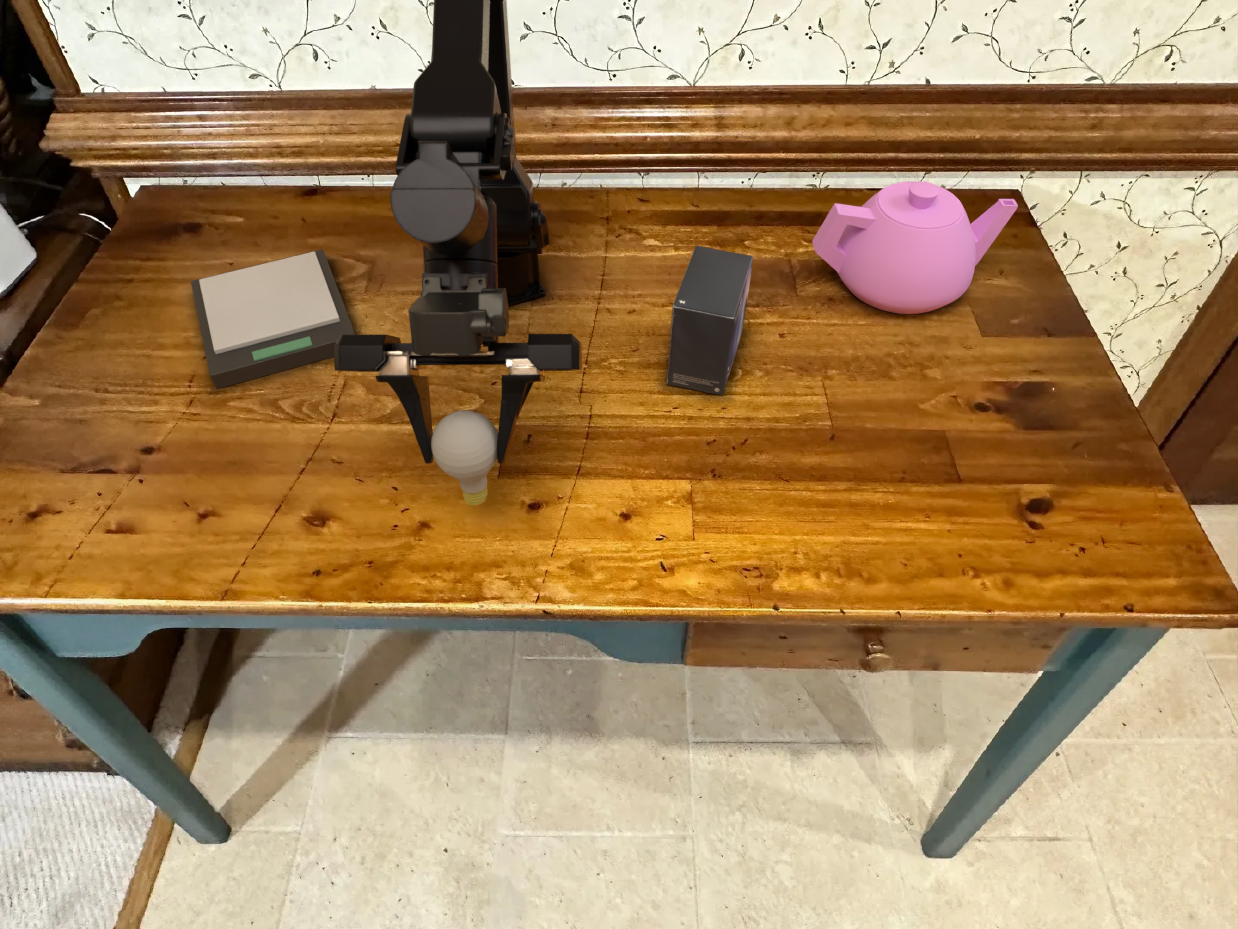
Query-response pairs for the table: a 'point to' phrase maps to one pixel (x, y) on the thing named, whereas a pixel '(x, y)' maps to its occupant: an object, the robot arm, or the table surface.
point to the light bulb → (466, 451)
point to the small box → (708, 319)
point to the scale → (269, 317)
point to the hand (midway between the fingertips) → (464, 463)
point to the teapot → (908, 246)
